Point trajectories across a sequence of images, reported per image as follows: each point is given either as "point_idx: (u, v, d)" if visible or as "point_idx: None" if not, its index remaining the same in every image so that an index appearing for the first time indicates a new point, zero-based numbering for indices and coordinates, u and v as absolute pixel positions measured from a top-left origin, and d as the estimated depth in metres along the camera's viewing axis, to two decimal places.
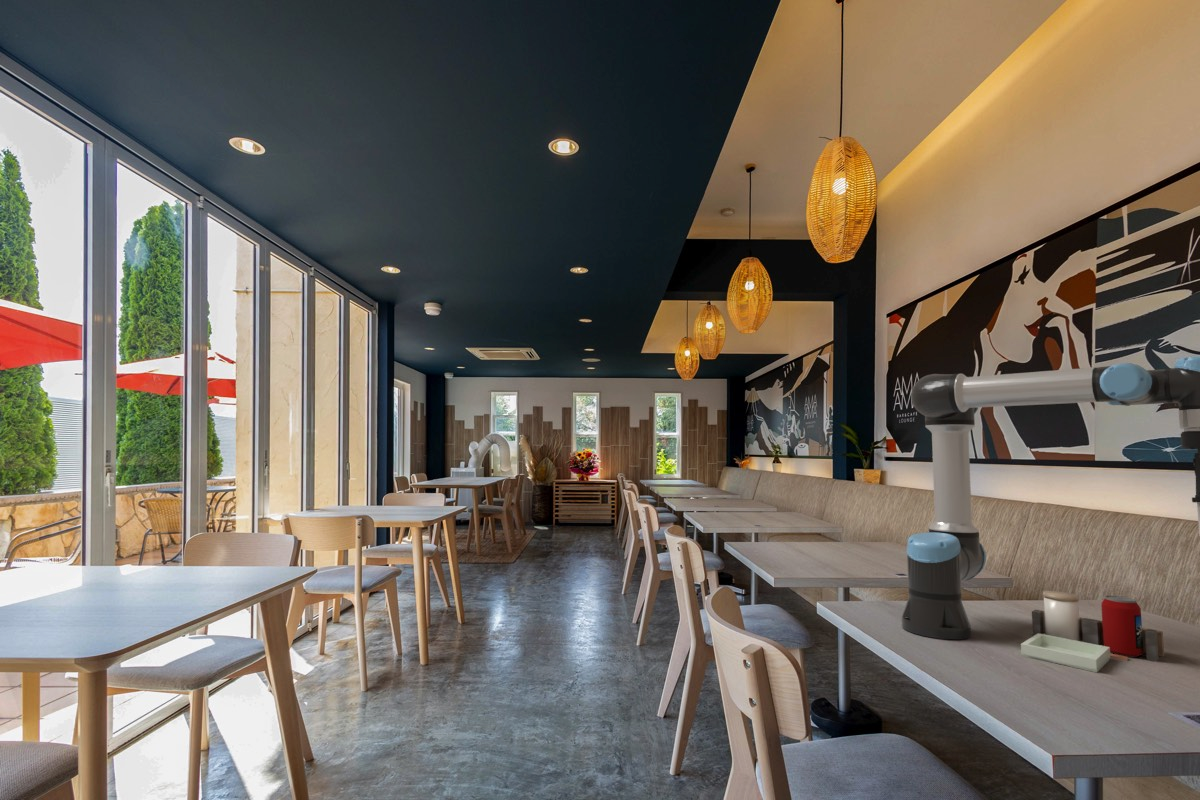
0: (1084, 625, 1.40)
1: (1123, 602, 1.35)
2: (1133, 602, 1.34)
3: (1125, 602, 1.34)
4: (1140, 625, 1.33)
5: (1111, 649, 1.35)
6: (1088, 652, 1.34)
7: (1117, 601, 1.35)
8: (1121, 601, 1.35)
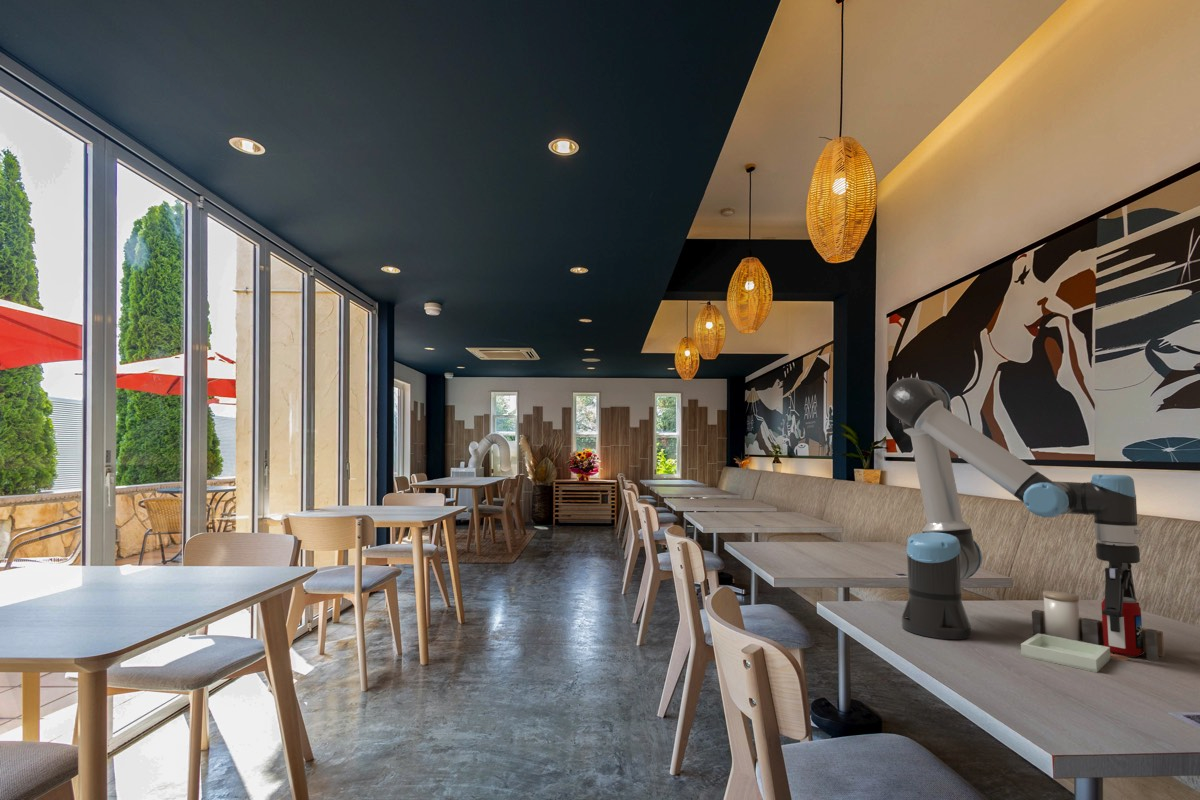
0: (1084, 625, 1.40)
1: (1123, 602, 1.35)
2: (1133, 602, 1.34)
3: (1125, 602, 1.34)
4: (1140, 625, 1.33)
5: (1111, 649, 1.35)
6: (1088, 652, 1.34)
7: None
8: None
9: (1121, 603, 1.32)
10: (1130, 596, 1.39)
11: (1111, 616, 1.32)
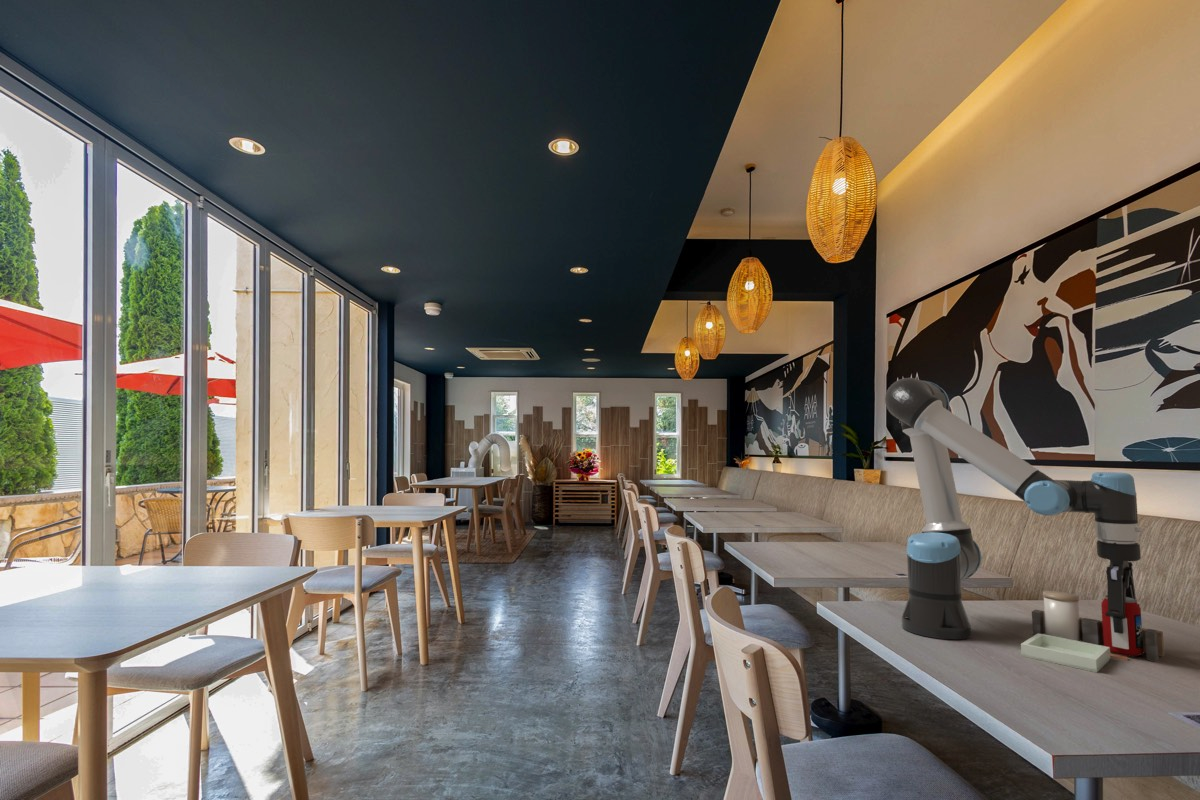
0: (1084, 625, 1.40)
1: None
2: (1133, 602, 1.34)
3: (1125, 602, 1.34)
4: (1140, 625, 1.34)
5: (1111, 649, 1.35)
6: (1088, 652, 1.34)
7: None
8: None
9: (1124, 604, 1.33)
10: (1130, 596, 1.39)
11: (1114, 618, 1.33)
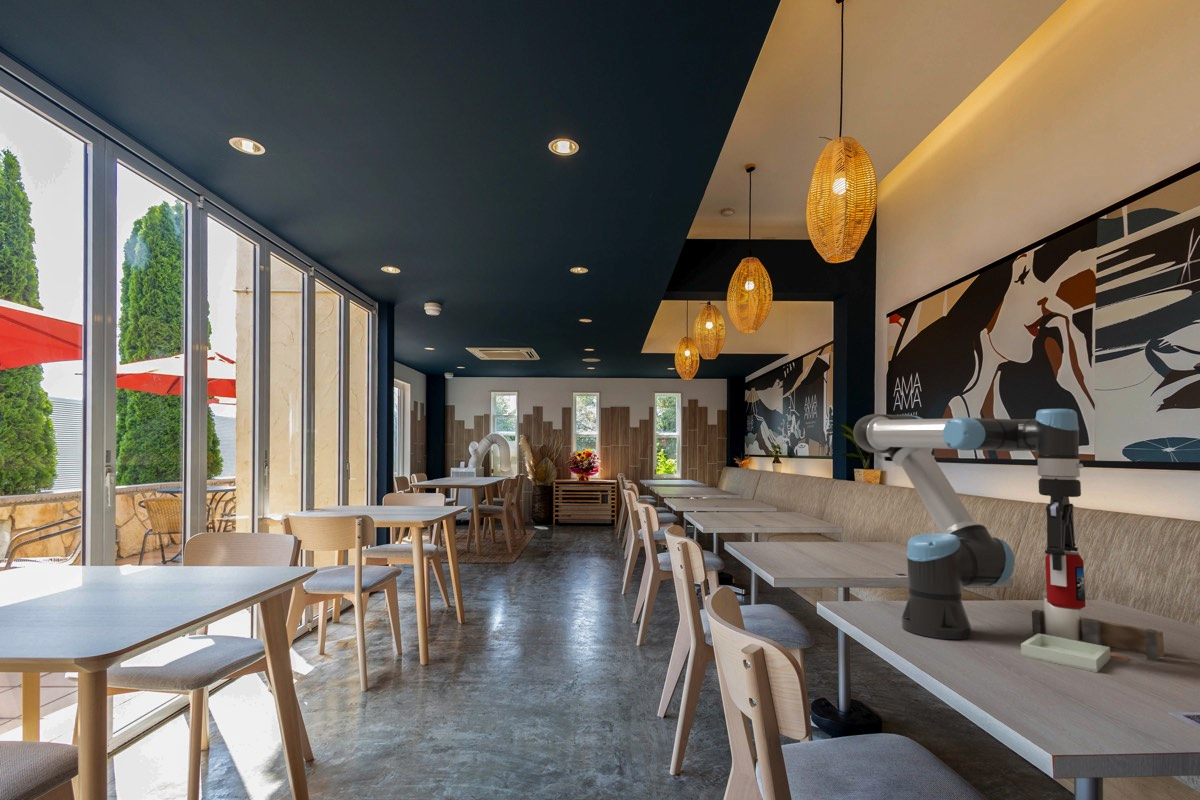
0: (1084, 625, 1.40)
1: (1065, 553, 1.33)
2: (1075, 554, 1.32)
3: (1066, 553, 1.33)
4: (1082, 577, 1.31)
5: (1052, 602, 1.33)
6: (1088, 652, 1.34)
7: None
8: None
9: (1063, 541, 1.31)
10: (1069, 537, 1.37)
11: (1053, 555, 1.31)
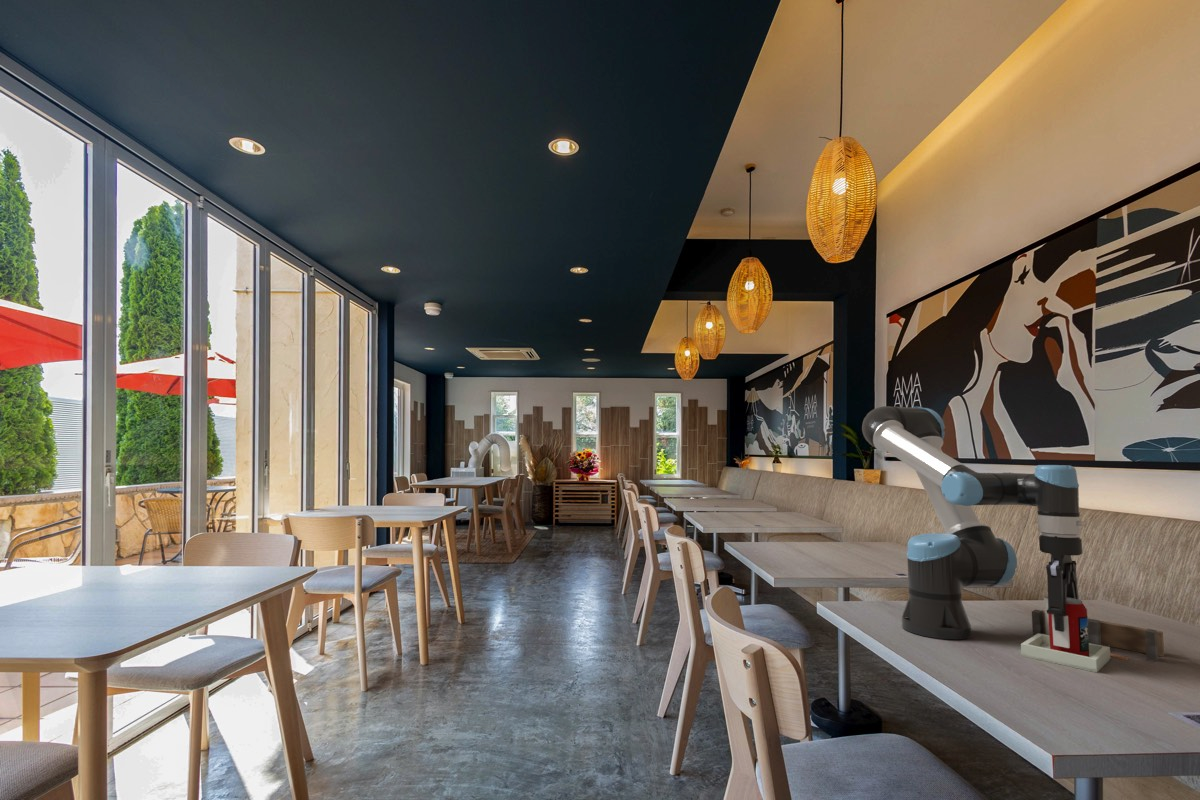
0: None
1: (1068, 603, 1.30)
2: (1078, 604, 1.30)
3: (1069, 603, 1.30)
4: (1085, 627, 1.29)
5: None
6: None
7: None
8: None
9: (1064, 601, 1.29)
10: (1072, 595, 1.34)
11: (1055, 615, 1.30)
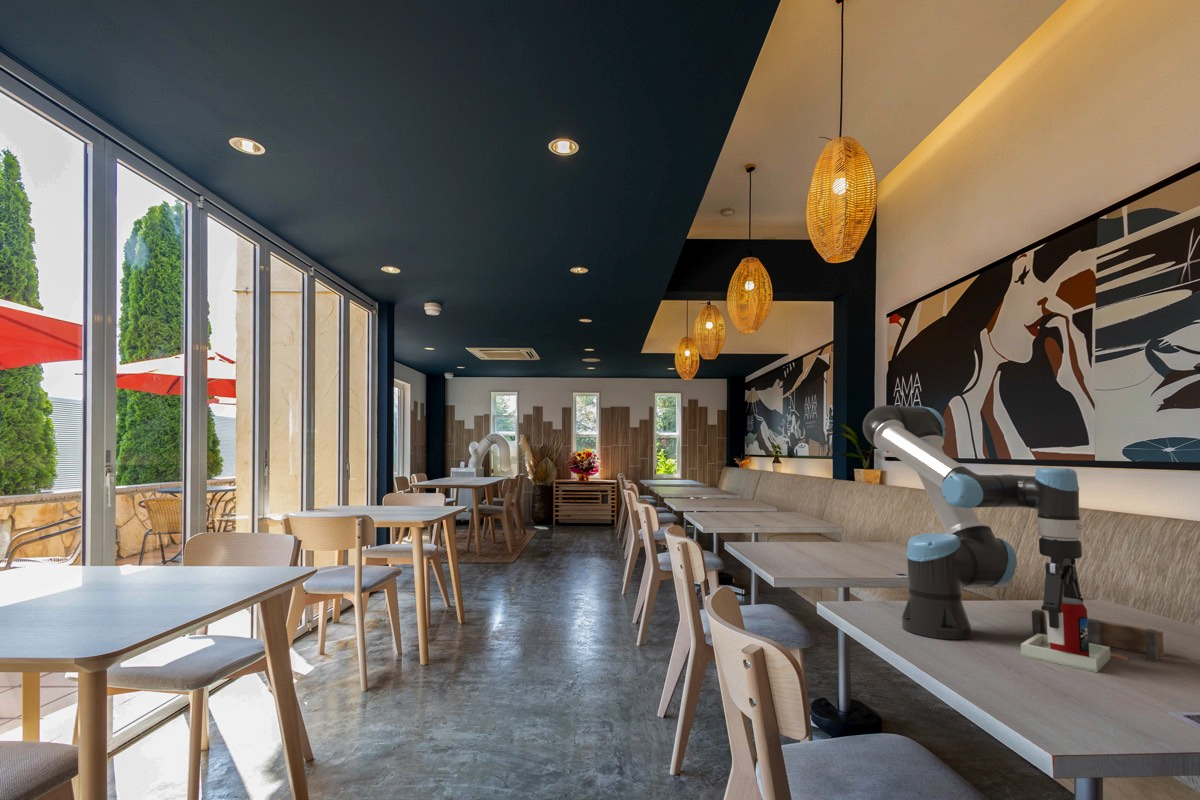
0: None
1: (1067, 603, 1.30)
2: (1078, 604, 1.30)
3: (1069, 603, 1.30)
4: (1085, 628, 1.29)
5: None
6: None
7: None
8: (1065, 602, 1.31)
9: (1060, 598, 1.28)
10: (1074, 592, 1.36)
11: (1050, 612, 1.28)
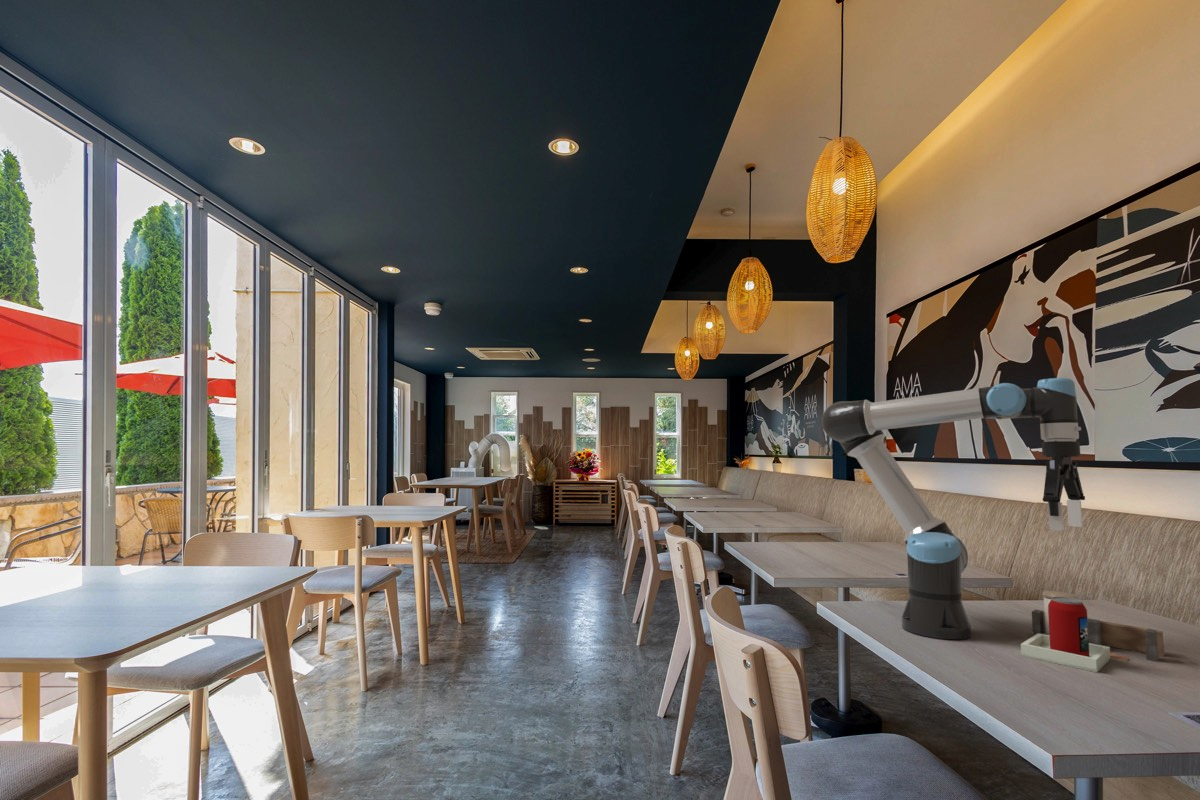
0: None
1: (1067, 603, 1.30)
2: (1078, 604, 1.30)
3: (1069, 603, 1.30)
4: (1085, 628, 1.29)
5: None
6: None
7: (1061, 602, 1.31)
8: (1065, 602, 1.31)
9: (1060, 490, 1.45)
10: (1075, 490, 1.52)
11: (1050, 502, 1.44)
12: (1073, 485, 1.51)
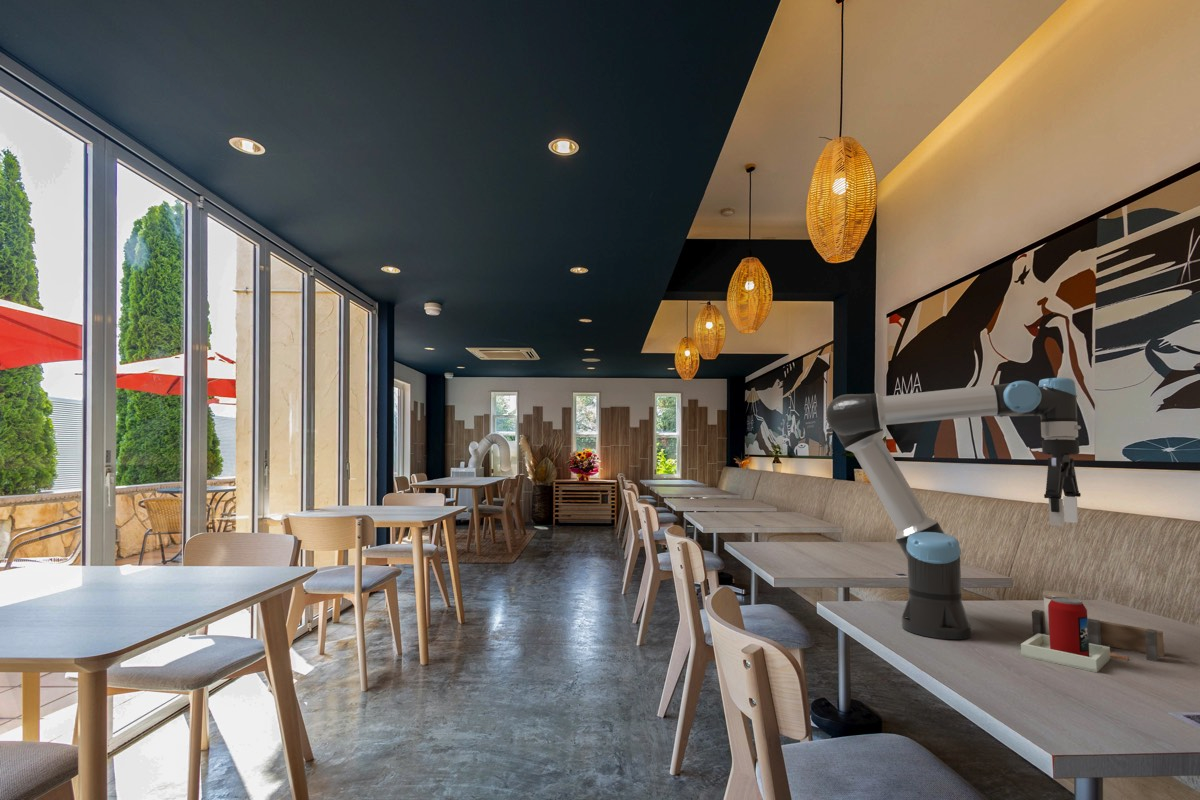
0: None
1: (1067, 603, 1.30)
2: (1078, 604, 1.30)
3: (1069, 603, 1.30)
4: (1085, 628, 1.29)
5: None
6: None
7: (1061, 602, 1.31)
8: (1065, 602, 1.31)
9: (1061, 487, 1.48)
10: (1072, 487, 1.56)
11: (1052, 498, 1.48)
12: (1070, 482, 1.56)
